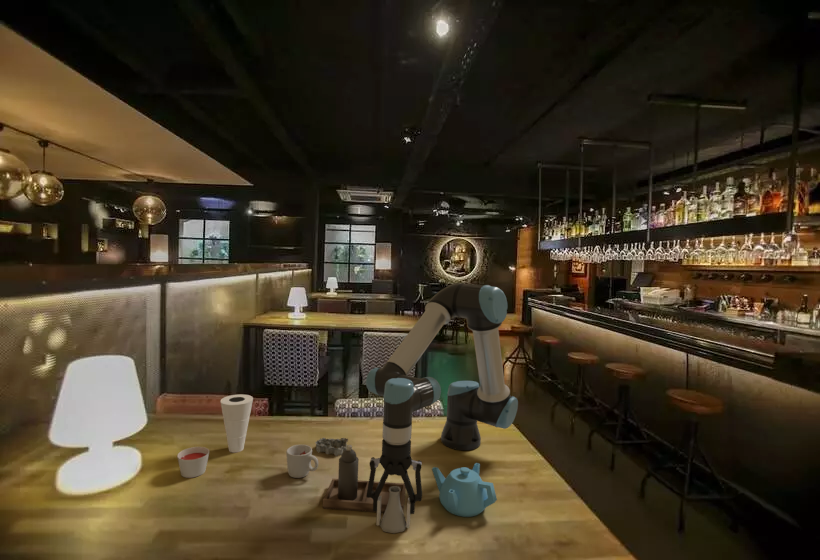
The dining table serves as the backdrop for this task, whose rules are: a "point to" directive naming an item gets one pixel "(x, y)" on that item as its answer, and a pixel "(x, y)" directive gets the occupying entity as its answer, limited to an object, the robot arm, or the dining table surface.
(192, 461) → the candle
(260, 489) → the dining table surface
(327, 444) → the egg carton
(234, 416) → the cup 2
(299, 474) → the cup
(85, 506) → the dining table surface
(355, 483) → the pepper mill
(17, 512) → the dining table surface
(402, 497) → the caddy
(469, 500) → the teapot
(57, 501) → the dining table surface
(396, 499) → the flask
